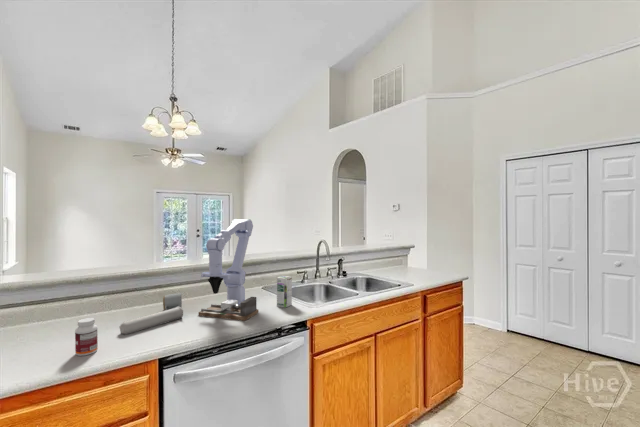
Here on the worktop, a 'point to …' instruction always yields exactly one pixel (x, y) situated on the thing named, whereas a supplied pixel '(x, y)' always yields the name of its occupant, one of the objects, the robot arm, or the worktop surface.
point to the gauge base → (242, 314)
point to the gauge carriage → (230, 305)
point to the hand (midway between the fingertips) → (215, 293)
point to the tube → (151, 320)
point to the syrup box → (284, 291)
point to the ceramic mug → (172, 301)
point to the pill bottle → (86, 337)
